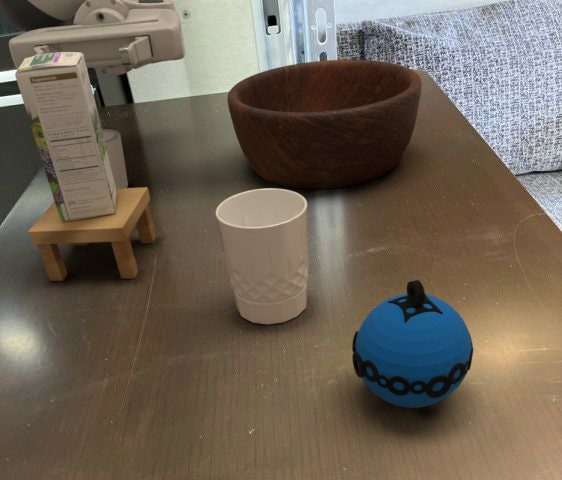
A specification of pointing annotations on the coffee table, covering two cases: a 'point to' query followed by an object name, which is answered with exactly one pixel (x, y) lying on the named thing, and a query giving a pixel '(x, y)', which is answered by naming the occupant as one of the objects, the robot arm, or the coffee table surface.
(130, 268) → the stand
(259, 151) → the wooden bowl
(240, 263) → the white cup
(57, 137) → the syrup box
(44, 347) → the coffee table surface
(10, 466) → the coffee table surface
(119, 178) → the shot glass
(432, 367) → the ornament
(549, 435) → the coffee table surface
